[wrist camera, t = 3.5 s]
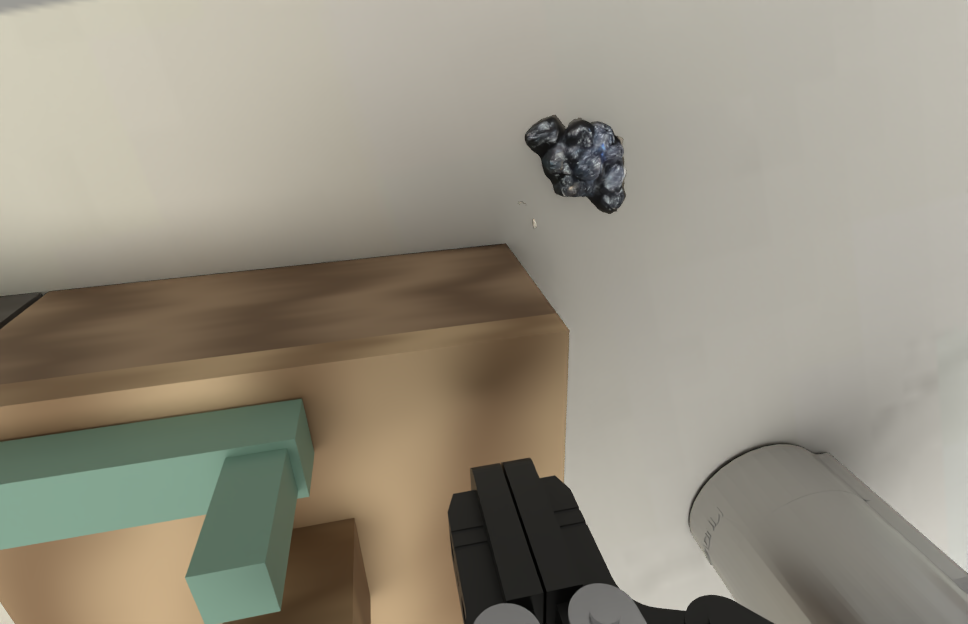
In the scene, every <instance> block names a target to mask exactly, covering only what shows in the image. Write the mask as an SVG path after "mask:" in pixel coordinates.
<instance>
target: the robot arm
mask: <svg viewBox="0 0 968 624" xmlns="http://www.w3.org/2000/svg"><path fill="white" fill-rule="evenodd" d="M470 479H471V491H466V492H460V493H455V494H453V496H452V499H451V502H450V506H449V509H448V523H449V533H450V544H451V555H452V561H453V567H454V572H455V577H456V584H457V589H458V594H459V601H460V606H461V612H462V617H463V623H464V624H968V573H967V572H965V571H964V570H963V569H962V568H961V567H960V566H959V565H957V564H956V563H955V562H954V561H953V560H952V559H950V558H949V557H948V556H947V555H946V554H945V553H944V552H942V551H941V550H940V549H939V548H938V547H937V546H935V545H934V544H933V543H932V542H931V541H930V540H929V539H927V538H926V537H925V536H924V535H923V534H922V533H921V532H919V531H918V530H917V529H916V528H915V527H914V526H912V525H911V524H910V523H909V522H908V521H907V520H906V519H904V518H903V517H902V516H901V515H900V514H899V513H897V512H896V511H895V510H894V509H893V508H892V507H891V506H889V505H888V504H887V503H886V502H885V501H884V500H883V499H881V498H880V497H879V496H878V495H877V494H876V493H874V492H873V491H872V490H871V489H870V488H869V487H868V486H866V485H865V484H864V483H863V482H862V481H861V480H859V479H858V478H857V477H856V476H855V475H854V474H853V473H851V472H850V471H849V470H848V469H847V468H846V467H845V466H843V465H842V464H841V463H840V462H839V461H838V460H836V459H835V458H834V457H833V456H832V455H831V454H830V453H824V454H814V453H811V452H810V451H808V450H806V449H805V448H803V447H799V446H795V445H791V444H777V445H771V446H765V447H762V448H759V449H756V450H753V451H750V452H748V453H746V454H744V455H742V456H740V457H738V458H736V459H734V460H733V461H731V462H730V463H729V464H727V465H726V466H724V467H723V468H721V469H720V470H719V471H718V472H717V473H716V474H715V475H714V476H713V477H712V478H711V479H710V480H709V481H708V482H707V483H706V485H705V486H704V487H703V488H702V490H701V491H700V493H699V494H698V496H697V498H696V500H695V502H694V504H693V507H692V510H691V513H690V529H691V533H692V536H693V537H694V539H695V540H696V542H697V543H698V545H699V546H700V548H701V549H702V551H703V552H704V554H705V556H706V558H707V560H708V561H709V563H710V564H711V565H712V566H713V567H714V569H715V570H716V572H717V573H718V575H719V576H720V578H721V579H722V581H723V582H724V584H725V585H726V587H727V588H728V590H729V592H730V593H731V595H732V596H733V598H734V599H735V601H736V602H735V601H733V600H731V599H728V598H726V597H722V596H717V595H706V596H702V597H699V598H697V599H695V600H694V601H692V602H691V603H690V605H689V606H688V608H687V610H686V611H680V610H671V609H662V608H655V607H649V606H646V605H643V604H641V603H638V602H636V601H634V600H633V599H631V598H630V597H629V595H627V594H626V593H625V592H624V591H622V590H620V589H619V587H618V586H617V585H616V583H615V582H614V580H613V578H612V576H611V574H610V572H609V570H608V568H607V566H606V564H605V562H604V559H603V557H602V555H601V553H600V551H599V549H598V547H597V545H596V543H595V540H594V538H593V536H592V534H591V532H590V530H589V528H588V526H587V525H586V523H585V519H584V517H583V515H582V513H581V511H580V510H579V507H578V504H577V502H576V500H575V498H574V496H573V494H572V492H571V490H570V488H568V487H567V486H566V485H565V484H564V483H563V482H562V481H561V480H560V479H558V478H557V477H556V476H555V475H554V476H548V477H543V478H539V476H538V473H537V471H536V468H535V466H534V464H533V461H532V459H531V458H524V459H518V460H512V461H507V462H501V465H500V463H496V464H490V465H484V466H479V467H473V468H470Z"/></svg>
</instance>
